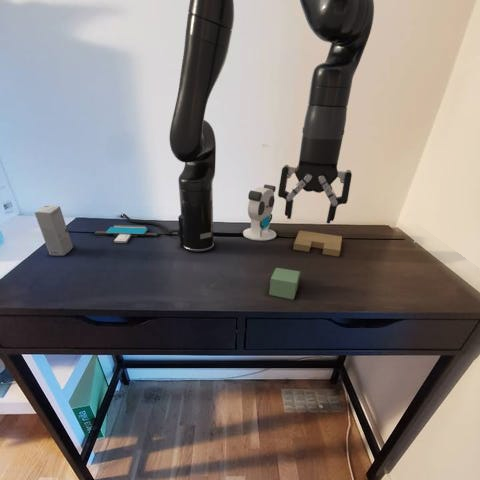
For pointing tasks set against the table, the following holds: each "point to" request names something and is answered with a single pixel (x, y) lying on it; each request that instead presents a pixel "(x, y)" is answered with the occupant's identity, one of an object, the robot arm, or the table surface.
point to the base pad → (318, 242)
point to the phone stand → (126, 232)
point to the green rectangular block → (284, 283)
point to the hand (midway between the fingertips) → (308, 220)
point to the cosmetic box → (54, 230)
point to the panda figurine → (261, 213)
